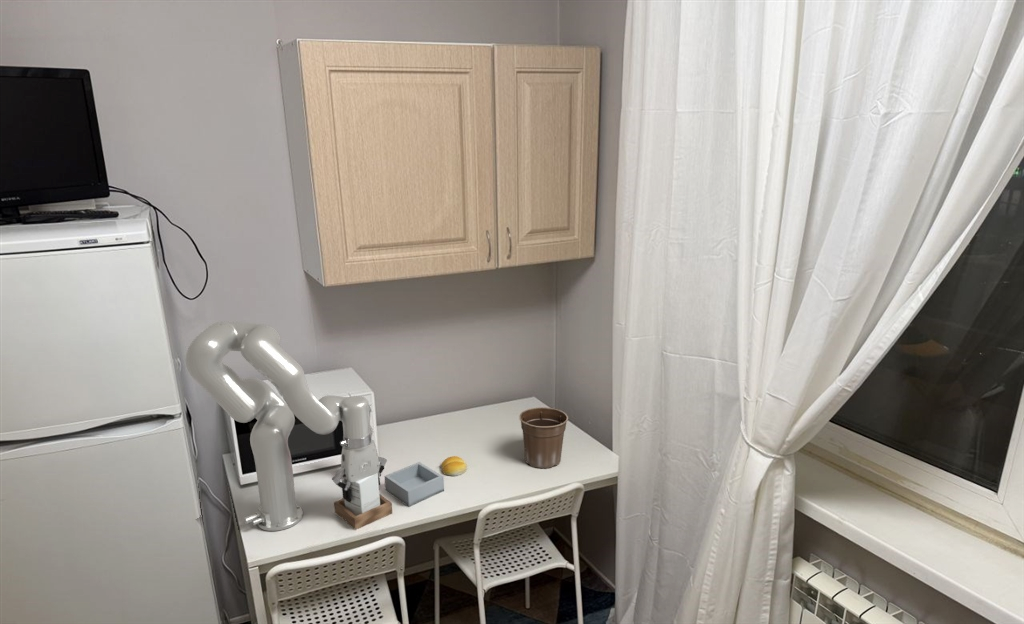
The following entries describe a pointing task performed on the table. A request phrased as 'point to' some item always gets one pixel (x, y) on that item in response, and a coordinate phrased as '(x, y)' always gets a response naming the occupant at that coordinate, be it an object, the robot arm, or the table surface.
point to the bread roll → (454, 466)
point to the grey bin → (414, 483)
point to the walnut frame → (365, 517)
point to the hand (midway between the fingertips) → (362, 494)
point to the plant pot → (543, 435)
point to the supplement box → (364, 495)
